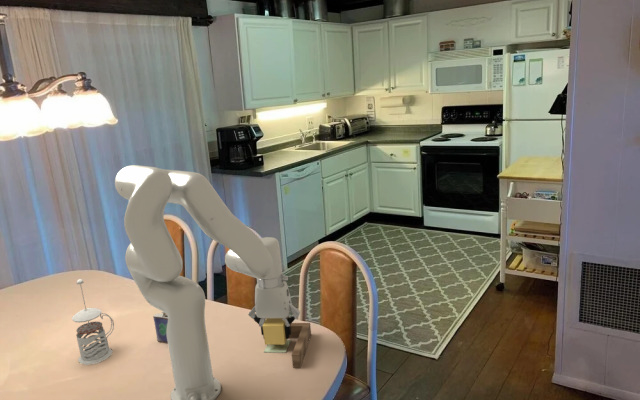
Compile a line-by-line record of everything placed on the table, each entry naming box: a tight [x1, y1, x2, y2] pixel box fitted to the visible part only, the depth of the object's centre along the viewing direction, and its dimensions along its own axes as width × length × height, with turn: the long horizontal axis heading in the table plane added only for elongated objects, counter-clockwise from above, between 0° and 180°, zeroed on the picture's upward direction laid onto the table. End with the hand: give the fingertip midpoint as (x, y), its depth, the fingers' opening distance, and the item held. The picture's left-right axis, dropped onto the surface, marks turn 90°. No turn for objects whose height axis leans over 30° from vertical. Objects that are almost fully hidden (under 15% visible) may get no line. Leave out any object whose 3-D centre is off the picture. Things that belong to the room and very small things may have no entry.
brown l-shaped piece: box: [263, 322, 312, 369], centre depth 142 cm, size 18×12×4 cm
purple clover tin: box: [152, 311, 168, 345], centre depth 152 cm, size 9×3×11 cm, turn 65°
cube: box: [263, 318, 288, 345], centre depth 144 cm, size 6×6×6 cm
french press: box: [71, 278, 115, 366], centre depth 146 cm, size 10×12×25 cm
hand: (276, 336), depth 145 cm, fingers closed on cube, 6 cm apart
